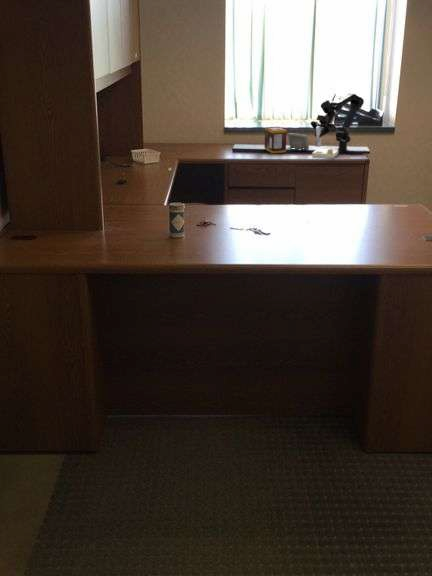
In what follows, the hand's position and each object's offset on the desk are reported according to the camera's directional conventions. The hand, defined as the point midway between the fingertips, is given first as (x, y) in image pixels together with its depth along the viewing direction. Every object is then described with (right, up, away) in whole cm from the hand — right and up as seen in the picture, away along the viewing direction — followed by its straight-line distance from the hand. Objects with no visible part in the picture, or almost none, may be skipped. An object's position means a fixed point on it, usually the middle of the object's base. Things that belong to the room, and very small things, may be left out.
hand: (317, 136), depth 424 cm
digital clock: (-9, -2, +29) cm, 30 cm away
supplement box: (-27, -5, +22) cm, 35 cm away
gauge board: (+7, -11, +8) cm, 15 cm away
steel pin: (+1, -6, +4) cm, 7 cm away
